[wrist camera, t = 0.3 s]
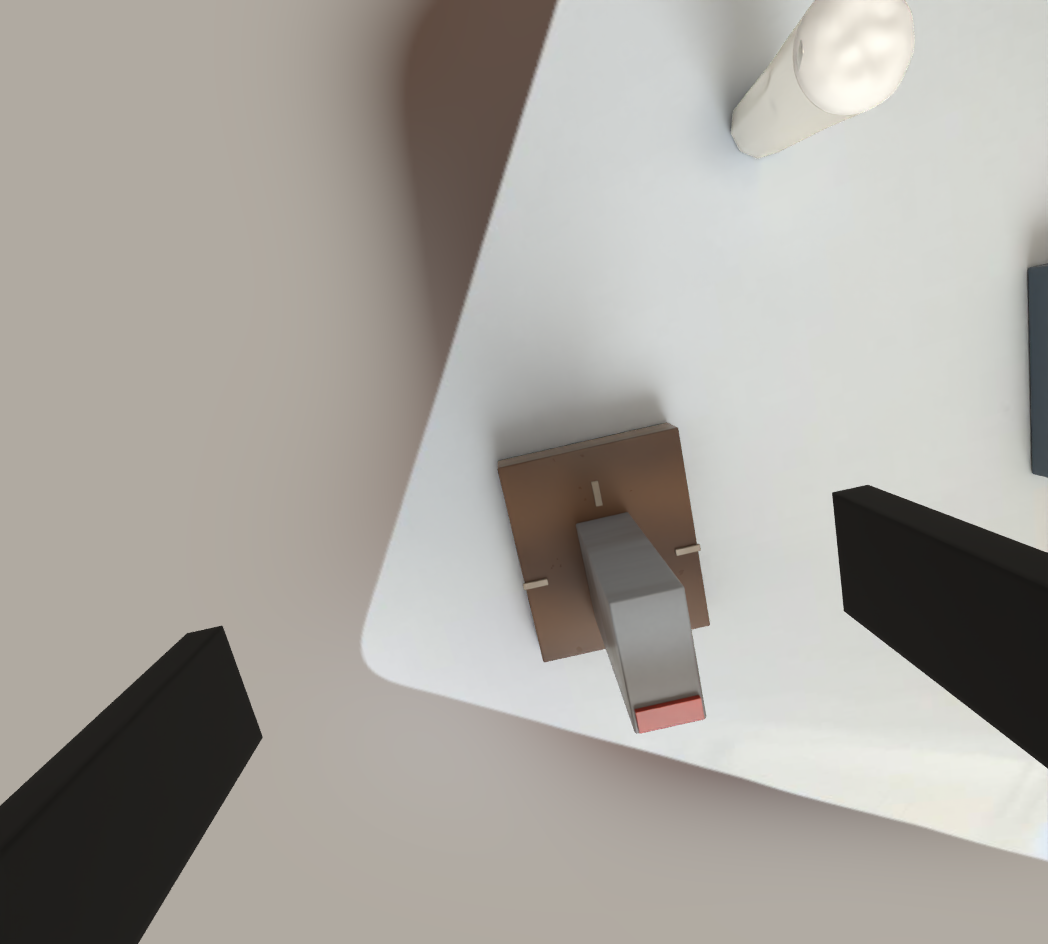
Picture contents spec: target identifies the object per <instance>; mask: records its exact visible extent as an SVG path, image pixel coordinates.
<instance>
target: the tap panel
mask: <svg viewBox="0 0 1048 944" xmlns="http://www.w3.org/2000/svg"><path fill="white" fill-rule="evenodd" d="M498 474H499V478H500V482H501V486H502V490H503V495H504V499H505V503H506V507H507V511H508V516H509V520H510V524H511V528H512V532H513V536H514V541H515V545H516V549H517V553H518V557H519V562H520V566H521V570H522V574H523V578H524V583H523V587H524V590H526V591H527V595H528V599H529V604H530V608H531V612H532V616H533V620H534V625H535V629H536V633H537V637H538V641H539V645H540V650H541V654H542V658H543V661H544V662H548V661H553V660H557V659H561V658H566V657H570V656H575V655H579V654H584V653H588V652H593V651H597V650H602V649H606V648H605V645H604V642H603V639H602V636H601V633H600V631H599V628H598V625H597V622H596V619H595V614H594V609H593V605H592V600H591V595H590V590H589V586H588V581H587V576H586V571H585V567H584V562H583V557H582V553H581V548H580V543H579V538H578V534H577V529H576V524H577V523H581V522H586V521H590V520H595V519H599V518H603V517H608V516H612V515H617V514H621V513H626V512H628V513H629V514H630V516H631V517H632V518H633V520H634V521H635V522H636V524H637V525H638V526H639V528H640V529H641V530H642V532H643V533H644V534H645V536H646V537H647V538H648V540H649V541H650V542H651V544H652V545H653V546H654V548H655V549H656V550H657V552H658V553H659V554H660V556H661V557H662V558H663V560H664V561H665V562H666V564H667V565H668V566H669V568H670V569H671V570H672V572H673V573H674V574H675V576H676V577H677V578H678V580H679V581H680V582H681V584H682V585H683V586H684V589H685V595H686V601H687V607H688V612H689V618H690V624H691V629H696V628H700V627H705V626H709V625H710V622H709V616H708V610H707V603H706V597H705V591H704V585H703V579H702V573H701V566H700V560H699V554H698V551H701V548H700V544H697V542H696V536H695V529H694V523H693V517H692V511H691V505H690V499H689V492H688V486H687V480H686V474H685V468H684V461H683V455H682V449H681V443H680V437H679V431H678V428H677V427H675V426H673V425H671V424H669V423H663V424H659V425H654V426H650V427H646V428H641V429H637V430H632V431H628V432H623V433H619V434H615V435H610V436H606V437H601V438H597V439H592V440H588V441H584V442H579V443H575V444H570V445H566V446H562V447H557V448H553V449H548V450H544V451H539V452H535V453H531V454H526V455H522V456H517V457H513V458H509V459H504V460H500V461H498Z"/></svg>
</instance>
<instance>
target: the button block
mask: <svg viewBox="0 0 1048 944" xmlns="http://www.w3.org/2000/svg"><path fill="white" fill-rule="evenodd" d="M1028 284H1029V334H1030V384H1031V433H1032V473H1033V474H1036V475H1040V476H1044V477H1048V264H1044V265H1039V266H1035V267H1030V268H1029V269H1028Z"/></svg>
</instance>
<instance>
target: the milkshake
mask: <svg viewBox="0 0 1048 944" xmlns="http://www.w3.org/2000/svg"><path fill="white" fill-rule="evenodd" d="M914 47H915V37H914V25H913V17H912V13H911V10H910V8H909V6H908V4H907V3H906V1H905V0H815V1H814V2H813V3H812V5H811V6H810V7H809V9H808V10H807V11H806V13H805V14H804V15H803V17H802V18H801V20H800V21H799V22H798V24H797V25H796V27H795V28H794V29H793V31H792V32H791V34H790V35H789V36H788V38H787V39H786V41H785V42H784V44H783V45H782V47H781V48H780V50H779V51H778V53H777V54H776V56H775V57H774V59H773V60H772V62H771V63H770V64H769V65H768V67H767V68H766V69H765V71H764V72H763V73H762V74H761V76H760V77H759V78H758V79H757V81H756V82H755V83H754V84H753V86H752V87H751V88H750V89H749V91H748V92H747V93H746V95H745V96H744V97H743V99H742V100H741V101H740V103H739V104H738V105H737V106H736V108H735V109H734V110H733V115H732V125H731V135H732V137H733V139H734V141H735V143H736V144H737V146H738V148H739V150H740V151H741V152H743V153H745V154H748V155H750V156H752V157H754V158H757V159H759V158H762V157H765V156H769V155H772V154H776V153H778V152H780V151H782V150H784V149H786V148H788V147H790V146H792V145H794V144H796V143H798V142H800V141H802V140H804V139H806V138H808V137H810V136H812V135H814V134H816V133H818V132H820V131H822V130H824V129H826V128H829V127H831V126H833V125H836V124H838V123H840V122H843V121H845V120H847V119H849V118H852V117H854V116H856V115H858V114H861V113H863V112H865V111H868V110H870V109H872V108H874V107H876V106H878V105H879V104H881V103H882V102H883V101H885V100H886V99H887V98H888V97H890V96H891V95H892V94H893V93H894V92H895V90H896V89H897V88H898V87H899V85H900V83H901V82H902V80H903V77H904V75H905V73H906V70H907V68H908V66H909V63H910V61H911V58H912V55H913V52H914Z"/></svg>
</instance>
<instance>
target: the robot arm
mask: <svg viewBox="0 0 1048 944" xmlns="http://www.w3.org/2000/svg"><path fill="white" fill-rule="evenodd" d="M832 496H833V506H834V516H835V526H836V536H837V546H838V556H839V566H840V576H841V586H842V596H843V606H844V612H846V613H847V614H848V615H850V616H851V617H852V618H854V619H855V620H856V621H857V622H859V623H860V624H861V625H863V626H864V627H865V628H867V629H868V630H869V631H870V632H872V633H873V634H874V635H876V636H877V637H878V638H879V639H881V640H882V641H883V642H885V643H886V644H887V645H889V646H890V647H891V648H892V649H894V650H895V651H896V652H898V653H899V654H900V655H901V656H903V657H904V658H905V659H907V660H908V661H909V662H911V663H912V664H913V665H914V666H916V667H917V668H918V669H920V670H921V671H922V672H924V673H925V674H926V675H927V676H929V677H930V678H931V679H933V680H934V681H935V682H936V683H938V684H939V685H940V686H942V687H943V688H944V689H946V690H947V691H948V692H949V693H951V694H952V695H953V696H955V697H956V698H957V699H959V700H960V701H961V702H962V703H964V704H965V705H966V706H968V707H969V708H970V709H971V710H973V711H974V712H975V713H977V714H978V715H979V716H981V717H982V718H983V719H984V720H986V721H987V722H988V723H990V724H991V725H992V726H993V727H995V728H996V729H997V730H999V731H1000V732H1001V733H1003V734H1004V735H1005V736H1006V737H1008V738H1009V739H1010V740H1012V741H1013V742H1014V743H1016V744H1017V745H1018V746H1019V747H1021V748H1022V749H1023V750H1025V751H1026V752H1027V753H1028V754H1030V755H1031V756H1032V757H1034V758H1035V759H1036V760H1038V761H1039V762H1040V763H1041V764H1043V765H1044V766H1045V767H1047V768H1048V553H1047V552H1044V551H1041V550H1039V549H1036V548H1033V547H1031V546H1028V545H1025V544H1023V543H1020V542H1018V541H1015V540H1012V539H1010V538H1007V537H1004V536H1002V535H999V534H996V533H994V532H991V531H988V530H986V529H983V528H981V527H978V526H975V525H973V524H970V523H967V522H965V521H962V520H959V519H957V518H954V517H952V516H949V515H946V514H944V513H941V512H938V511H936V510H933V509H930V508H928V507H925V506H923V505H920V504H917V503H915V502H912V501H909V500H907V499H904V498H901V497H899V496H896V495H893V494H891V493H888V492H886V491H883V490H880V489H878V488H875V487H872V486H870V485H865V486H860V487H856V488H851V489H847V490H842V491H837V492H833V493H832ZM261 739H262V734H261V731H260V729H259V726H258V723H257V720H256V717H255V715H254V712H253V709H252V706H251V703H250V701H249V698H248V695H247V692H246V690H245V687H244V684H243V681H242V678H241V676H240V673H239V670H238V668H237V665H236V662H235V659H234V656H233V654H232V651H231V648H230V645H229V642H228V640H227V637H226V634H225V631H224V629H223V626H219V627H214V628H210V629H205V630H201V631H196V632H191V633H187V634H186V635H185V636H184V637H183V638H182V639H181V640H179V642H177V643H176V644H175V645H174V646H173V647H172V648H171V649H170V650H169V651H168V652H166V653H165V654H164V655H163V656H162V657H161V658H160V659H159V660H158V661H157V662H156V663H154V664H153V665H152V666H151V667H150V668H149V669H148V670H147V671H146V672H145V673H144V674H142V675H141V676H140V677H139V678H138V679H137V680H136V681H135V682H134V683H133V684H132V685H131V686H130V687H128V688H127V689H126V690H125V691H124V692H123V693H122V694H121V695H120V696H119V697H118V698H116V699H115V700H114V702H112V703H111V704H110V705H109V706H108V707H107V708H106V709H105V710H103V711H102V712H101V713H100V714H99V715H98V716H97V717H96V718H95V719H94V720H93V721H92V722H90V723H89V724H88V725H87V726H86V727H85V728H84V729H83V730H82V731H81V732H80V733H79V734H78V735H77V736H75V737H74V738H73V739H72V740H71V741H70V742H69V743H68V744H67V745H66V746H65V747H63V748H62V749H61V750H60V751H59V752H58V753H57V754H56V755H55V756H54V757H53V758H51V759H50V760H49V761H48V762H47V763H46V764H45V765H44V766H43V767H42V768H41V769H40V770H39V771H37V772H36V773H35V774H34V775H33V776H32V777H31V778H30V779H29V780H28V781H27V782H25V783H24V784H23V785H22V786H21V787H20V788H19V789H18V790H17V791H16V792H15V793H14V794H12V795H11V796H10V797H9V798H8V799H7V800H6V801H5V802H4V803H3V804H2V805H1V806H0V944H138V943H139V941H140V940H141V938H142V936H143V934H144V933H145V931H146V930H147V928H148V926H149V925H150V923H151V921H152V920H153V918H154V916H155V915H156V913H157V912H158V910H159V908H160V906H161V905H162V903H163V902H164V900H165V898H166V897H167V895H168V893H169V891H170V890H171V888H172V886H173V885H174V883H175V881H176V880H177V878H178V877H179V875H180V873H181V872H182V870H183V868H184V867H185V865H186V863H187V862H188V860H189V859H190V857H191V855H192V854H193V852H194V850H195V848H196V847H197V845H198V844H199V842H200V840H201V839H202V837H203V835H204V834H205V832H206V830H207V828H208V827H209V825H210V824H211V822H212V820H213V819H214V817H215V815H216V814H217V812H218V810H219V809H220V807H221V806H222V804H223V802H224V801H225V799H226V797H227V796H228V794H229V792H230V791H231V789H232V787H233V786H234V784H235V782H236V781H237V778H238V777H239V776H240V774H241V772H242V771H243V769H244V767H245V766H246V764H247V762H248V761H249V759H250V757H251V756H252V754H253V752H254V751H255V749H256V748H257V746H258V744H259V742H260V741H261Z"/></svg>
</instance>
